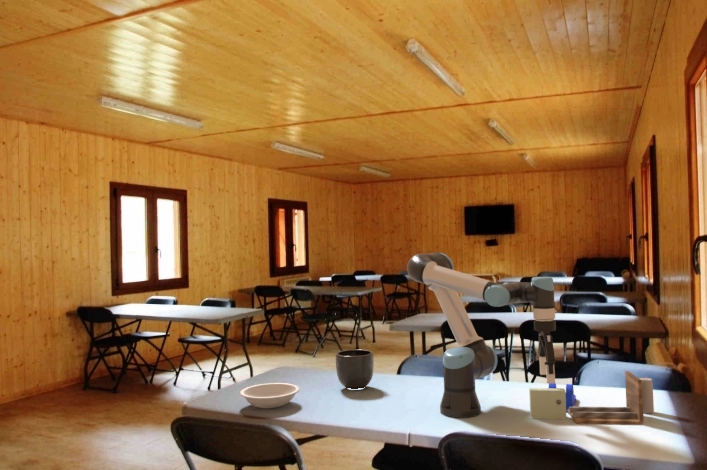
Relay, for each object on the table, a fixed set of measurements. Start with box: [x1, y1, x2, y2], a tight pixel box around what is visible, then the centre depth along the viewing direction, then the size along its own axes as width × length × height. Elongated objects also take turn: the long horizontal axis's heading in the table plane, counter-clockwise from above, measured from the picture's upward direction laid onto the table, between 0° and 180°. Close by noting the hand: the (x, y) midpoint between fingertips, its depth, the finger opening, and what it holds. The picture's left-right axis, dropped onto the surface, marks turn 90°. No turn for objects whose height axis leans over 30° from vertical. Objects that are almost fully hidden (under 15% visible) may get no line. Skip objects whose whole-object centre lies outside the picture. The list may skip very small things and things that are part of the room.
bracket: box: [548, 382, 577, 411], centre depth 223 cm, size 18×8×9 cm, turn 154°
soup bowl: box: [239, 382, 300, 409], centre depth 233 cm, size 24×24×7 cm
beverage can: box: [638, 377, 655, 415], centre depth 209 cm, size 5×5×12 cm
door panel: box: [528, 387, 567, 420], centre depth 207 cm, size 12×4×10 cm, turn 81°
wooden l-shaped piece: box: [566, 370, 644, 425], centre depth 204 cm, size 22×14×15 cm, turn 81°
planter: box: [334, 348, 375, 389], centre depth 257 cm, size 17×17×16 cm
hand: (547, 378), depth 207 cm, fingers open, 13 cm apart
